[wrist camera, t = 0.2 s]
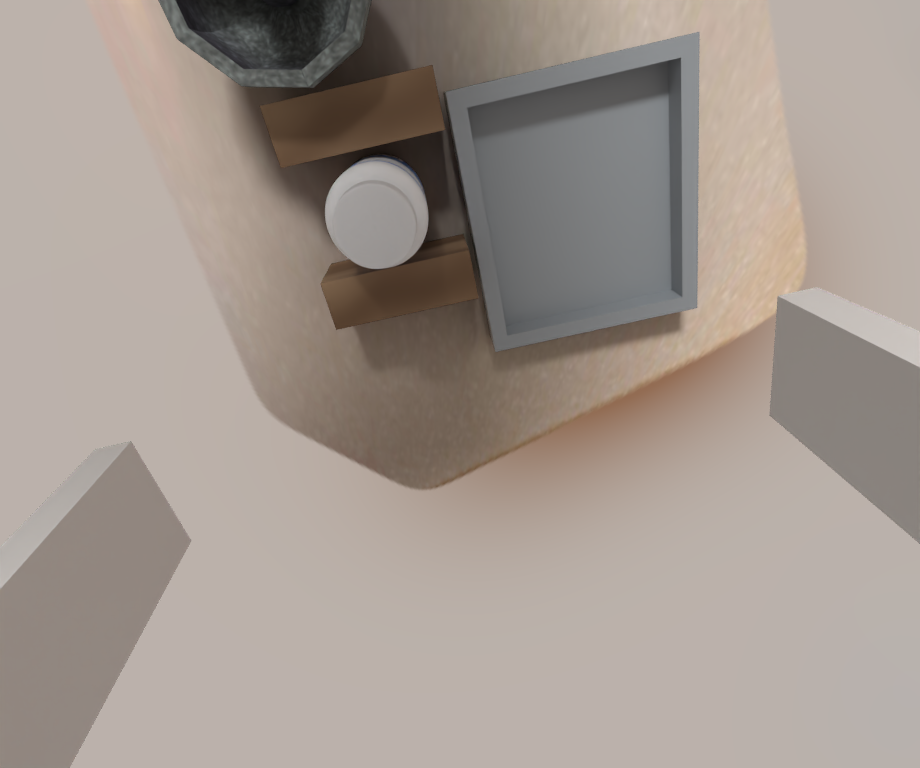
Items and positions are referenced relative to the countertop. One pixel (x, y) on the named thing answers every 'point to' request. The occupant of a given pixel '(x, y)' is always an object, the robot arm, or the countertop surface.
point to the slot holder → (358, 127)
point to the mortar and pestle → (270, 37)
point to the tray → (583, 190)
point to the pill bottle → (377, 212)
